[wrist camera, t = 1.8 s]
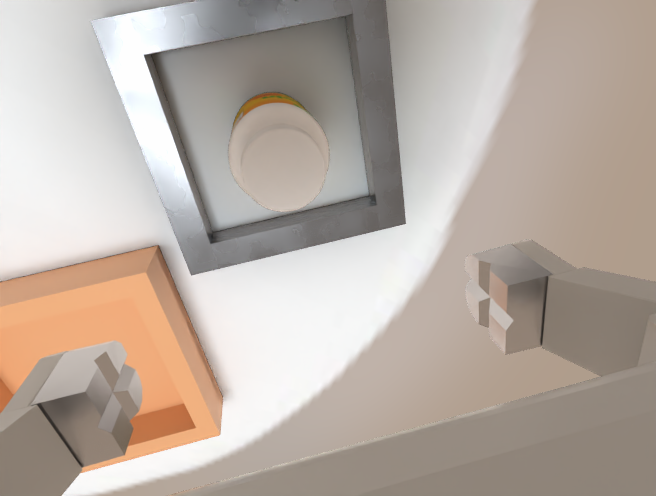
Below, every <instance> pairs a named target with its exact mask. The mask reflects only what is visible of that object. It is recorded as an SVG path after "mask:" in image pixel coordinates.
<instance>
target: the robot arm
mask: <svg viewBox="0 0 656 496" xmlns="http://www.w3.org/2000/svg"><path fill="white" fill-rule="evenodd" d="M465 272H466V273H467V274H468V275H469V276H470V277H471V279H470V281H469V282H468V284H467V286H466V288H465V289H466V300H467V304H468V307H469V310H470V312H471V314H472V316H473V317H474V319H475V320H476V321H477V322H478V324H480V325H483V326H485V327H488V328H489V336H490V338H491V339H492V340H493V341H494V342H495V343H496V345H497V346H498V347H499V348H500V349H501V350H502V352H503V353H505V355H506V354H511V353H515V352H519V351H524V350H527V349H532V348H536V347H540V346H542V348H543V349H545V350H547V351H549V352H551V353H554V354H556V355H558V356H560V357H562V358H564V359H566V360H568V361H570V362H573V363H574V364H577V365H579V366H581V367H583V368H585V369H587V370H589V371H591V372H593V373H595V374H597V375H600V376H601V377H598V378H594V379H591V380H587V381H584V382H580V383H576V384H573V385H569V386H566V387H562V388H558V389H555V390H551V391H547V392H544V393H540V394H536V395H533V396H529V397H525V398H521V399H518V400H514V401H511V402H507V403H504V404H499V405H496V406H492V407H488V408H485V409H481V410H478V411H474V412H470V413H467V414H463V415H460V416H455V417H452V418H448V419H444V420H441V421H437V422H433V423H430V424H426V425H422V426H419V427H415V428H412V429H408V430H404V431H400V432H397V433H393V434H389V435H386V436H382V437H378V438H375V439H371V440H367V441H364V442H360V443H357V444H353V445H349V446H346V447H342V448H338V449H335V450H331V451H327V452H324V453H320V454H317V455H313V456H309V457H306V458H302V459H298V460H295V461H292V462H288V463H284V464H280V465H277V466H273V467H269V468H266V469H263V470H259V471H255V472H251V473H248V474H244V475H241V476H237V477H233V478H229V479H226V480H222V481H218V482H215V483H211V484H208V485H204V486H200V487H197V488H193V489H189V490H186V491H182V492H178V493H175V494H171V495H167V496H656V282H655V281H650V280H645V279H640V278H635V277H630V276H625V275H620V274H615V273H610V272H605V271H600V270H595V269H590V268H585V267H583V268H579V269H577V268H575V267H574V266H572V265H571V264H569V263H568V262H566V261H564V260H563V259H561V258H560V257H558V256H557V255H555V254H553V253H552V252H550V251H549V250H547V249H546V248H544V247H543V246H541V245H539V244H538V243H536V242H535V241H533V240H527V239H526V240H522V241H519V242H515V243H512V244H508V245H505V246H502V247H498V248H494V249H490V250H486V251H483V252H479V253H476V254H472V255H468V256H467V257H466V261H465ZM127 355H128V354H127V352H126V351H125V349H124V347H123V346H122V344H121V343H120V342H118V341H115V340H114V341H110V342H105V343H101V344H96V345H92V346H87V347H83V348H78V349H74V350H70V351H64V352H60V353H56V354H52V355H48V356H46V357H43V358H41V359H40V360H39V361H38V363H37V364H36V365H35V367H34V368H33V369H32V371H31V372H30V374H29V375H28V376H27V378H26V379H25V381H24V382H23V383H22V385H21V386H20V387H19V389H18V390H17V392H16V393H15V394H14V396H13V397H12V399H11V400H10V401H9V403H8V404H7V406H6V407H5V408H4V410H3V411H2V412H1V413H0V496H61V495H62V494H63V493H64V492H65V491H66V489H67V488H68V487H69V486H70V485H71V483H72V482H73V481H74V480H75V479H76V477H77V476H78V475H79V474H80V473H81V471H82V470H83V469H82V468H83V467H86V466H90V465H93V464H97V463H100V462H104V461H107V460H110V459H114V458H117V457H121V456H124V455H125V453H126V450H127V447H128V444H129V441H130V438H131V435H132V432H133V429H134V428H133V426H132V424H131V423H130V420H131V419H132V418H133V417H134V416H135V415H136V414H137V413H138V412H139V410H140V407H141V403H142V385H141V381H140V377H139V375H138V373H137V371H136V369H134V368H132V367H130V366H128V365H126V364H125V361H126V358H127Z"/></svg>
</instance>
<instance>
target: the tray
mask: <svg viewBox="0 0 656 496" xmlns="http://www.w3.org/2000/svg"><path fill="white" fill-rule="evenodd" d="M114 340H115V341H118V342H120V343H121V344H122V346H123V347H124V349H125V351H126V352H127V354H128V355H127V358H126V361H125V364H126V365H128V366H130V367H132V368H134V369H136V371H137V373H138V375H139V377H140V381H141V385H142V403H141V407H140V410H139V412H138V413H137V414H136V415H135V416H134V417H133V418H132V419H131V420H130V423H131V424H132V426H133V428H134V429H133V432H132V435H131V438H130V441H129V444H128V447H127V450H126V453H125V455H124V456H121V457H117V458H114V459H110V460H107V461H104V462H100V463H97V464H93V465H90V466H86V467H83V468H82V469H83V470H82V471H81V473H83V472H87V471H90V470H94V469H98V468H101V467H105V466H109V465H112V464H116V463H120V462H123V461H127V460H131V459H134V458H138V457H142V456H145V455H149V454H153V453H156V452H160V451H164V450H167V449H171V448H175V447H178V446H182V445H186V444H189V443H193V442H197V441H200V440H204V439H208V438H211V437H215V436H219V435H220V431H221V418H222V404H223V397H222V394H221V392H220V390H219V387H218V385H217V383H216V380H215V378H214V376H213V373H212V371H211V369H210V366H209V364H208V361H207V359H206V357H205V354H204V352H203V350H202V347H201V345H200V343H199V340H198V338H197V336H196V333H195V331H194V328H193V326H192V324H191V321H190V319H189V317H188V314H187V312H186V310H185V307H184V305H183V303H182V300H181V298H180V295H179V293H178V291H177V288H176V286H175V284H174V281H173V279H172V277H171V274H170V272H169V270H168V267H167V265H166V262H165V260H164V258H163V255H162V253H161V251H160V248H159V246H158V245H157V246H153V247H149V248H145V249H140V250H136V251H132V252H127V253H123V254H119V255H114V256H110V257H106V258H102V259H97V260H93V261H89V262H84V263H80V264H76V265H72V266H67V267H63V268H59V269H54V270H50V271H46V272H41V273H37V274H33V275H29V276H24V277H20V278H16V279H11V280H7V281H3V282H0V413H1V412H2V411H3V410H4V408H5V407H6V406H7V404H8V403H9V401H10V400H11V399H12V397H13V396H14V394H15V393H16V392H17V390H18V389H19V387H20V386H21V385H22V383H23V382H24V381H25V379H26V378H27V376H28V375H29V374H30V372H31V371H32V369H33V368H34V367H35V365H36V364H37V363H38V361H39V360H40V359H41V358H43V357H46V356H48V355H52V354H56V353H60V352H64V351H70V350H74V349H78V348H83V347H87V346H92V345H96V344H101V343H105V342H110V341H114Z"/></svg>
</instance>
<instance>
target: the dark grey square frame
mask: <svg viewBox="0 0 656 496" xmlns="http://www.w3.org/2000/svg"><path fill="white" fill-rule="evenodd" d="M344 16H345V18H346V25H347V33H348V40H349V48H350V55H351V63H352V70H353V77H354V85H355V92H356V100H357V107H358V115H359V122H360V130H361V137H362V145H363V152H364V160H365V167H366V175H367V182H368V190H369V196H368V197H364V198H359V199H355V200H351V201H346V202H342V203H338V204H334V205H329V206H325V207H321V208H316V209H312V210H308V211H303V212H299V213H295V214H291V215H286V216H282V217H278V218H273V219H269V220H265V221H261V222H256V223H252V224H248V225H243V226H239V227H235V228H230V229H226V230H222V231H218V232H212V229H211V226H210V223H209V221H208V218H207V215H206V212H205V209H204V206H203V203H202V200H201V197H200V195H199V192H198V189H197V186H196V183H195V180H194V177H193V174H192V171H191V168H190V166H189V163H188V160H187V157H186V154H185V151H184V148H183V145H182V142H181V140H180V137H179V134H178V131H177V128H176V125H175V122H174V119H173V116H172V114H171V111H170V108H169V105H168V102H167V99H166V96H165V93H164V90H163V88H162V85H161V82H160V79H159V76H158V73H157V70H156V67H155V64H154V62H153V59H152V56H151V54H155V53H160V52H165V51H170V50H176V49H181V48H186V47H191V46H196V45H201V44H206V43H211V42H216V41H222V40H227V39H232V38H237V37H242V36H247V35H252V34H257V33H262V32H268V31H273V30H278V29H283V28H288V27H293V26H298V25H303V24H308V23H314V22H319V21H324V20H329V19H334V18H339V17H344ZM90 21H91V24H92V26H93V29H94V31H95V34H96V36H97V39H98V41H99V44H100V46H101V49H102V52H103V54H104V57H105V59H106V62H107V64H108V67H109V69H110V72H111V74H112V77H113V79H114V82H115V84H116V87H117V89H118V92H119V94H120V97H121V99H122V102H123V105H124V107H125V110H126V112H127V115H128V117H129V120H130V122H131V125H132V127H133V130H134V132H135V135H136V137H137V140H138V142H139V145H140V147H141V150H142V152H143V155H144V158H145V160H146V163H147V165H148V168H149V170H150V173H151V175H152V178H153V180H154V183H155V185H156V188H157V190H158V193H159V195H160V198H161V200H162V203H163V205H164V208H165V211H166V213H167V216H168V218H169V221H170V223H171V226H172V228H173V231H174V233H175V236H176V238H177V241H178V243H179V246H180V248H181V251H182V253H183V256H184V258H185V261H186V264H187V266H188V269H189V271H190V274H191V275H195V274H199V273H203V272H207V271H212V270H216V269H220V268H224V267H228V266H232V265H237V264H241V263H245V262H249V261H253V260H257V259H262V258H266V257H270V256H274V255H278V254H282V253H286V252H291V251H295V250H299V249H303V248H307V247H311V246H316V245H320V244H324V243H328V242H332V241H336V240H341V239H345V238H349V237H353V236H357V235H361V234H366V233H370V232H374V231H378V230H382V229H386V228H391V227H395V226H399V225H403V224H406V220H405V209H404V198H403V187H402V176H401V166H400V155H399V144H398V133H397V122H396V111H395V100H394V89H393V78H392V67H391V56H390V45H389V34H388V23H387V12H386V1H385V0H197V1H192V2H186V3H181V4H176V5H170V6H165V7H160V8H154V9H149V10H143V11H138V12H133V13H127V14H122V15H117V16H111V17H106V18H101V19H95V20H90Z"/></svg>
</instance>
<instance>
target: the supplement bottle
mask: <svg viewBox="0 0 656 496" xmlns="http://www.w3.org/2000/svg"><path fill="white" fill-rule="evenodd" d="M228 158H229V165H230V169H231V172H232V174H233V177H234V179H235V180H236V182H237V183H238V185H239V186H240V187H241V188H242V189H243V191H245V192H246V193H247V194H248V195H249V196H251V197H252V198H253V199H254V200H255V201H256V202H257V203H258V204H260V205H261V206H263V207H265V208H267V209H270V210H273V211H278V212H288V211H294V210H297V209H300V208H302V207H304V206H306V205H308V204H309V203H310V202H311V201H313V200H314V199H315V197H316V196H317V195H318V194H319V192H320V191H321V189H322V187H323V184H324V181H325V176H326V174H327V171H328V166H329V158H330V155H329V145H328V141H327V138H326V136H325V133H324V131H323V130H322V128H321V126H320V125H319V124H318V122H317V121H316V120H315V119H314V118H313V117H312V116H311V115H310V114H309V113H308V112H307V110H306V109H305V108H304V107H303V106H302V105H301V104H300V103H299V102H298V101H296V100H295V99H293V98H292V97H290V96H288V95H285V94H282V93H277V92H267V93H262V94H259V95H256V96H254V97H252V98H251V99H249V100H248V101H247V102H246V103H245V104H244V105H243V106H242V107H241V108H240V110H239V111H238V113H237V115H236V117H235V120H234V123H233V128H232V132H231V137H230V141H229V148H228Z"/></svg>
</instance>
